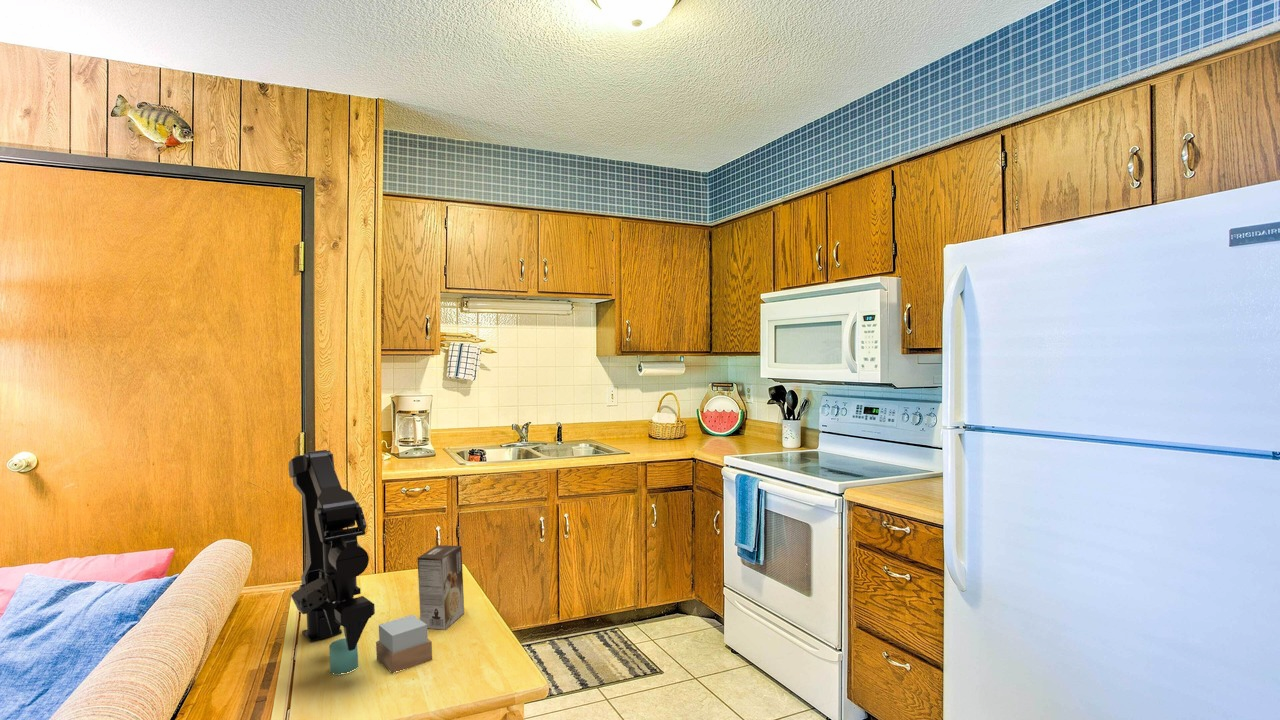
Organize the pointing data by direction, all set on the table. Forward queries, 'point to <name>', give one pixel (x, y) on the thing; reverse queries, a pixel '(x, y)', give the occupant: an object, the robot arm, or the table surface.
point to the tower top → (403, 633)
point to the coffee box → (441, 586)
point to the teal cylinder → (342, 657)
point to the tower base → (404, 656)
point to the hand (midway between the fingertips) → (343, 642)
